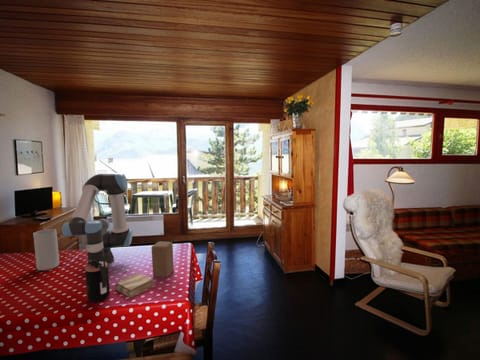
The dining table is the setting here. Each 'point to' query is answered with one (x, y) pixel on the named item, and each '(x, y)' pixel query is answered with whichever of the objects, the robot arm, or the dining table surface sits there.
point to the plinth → (134, 285)
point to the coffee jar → (95, 284)
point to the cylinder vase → (46, 249)
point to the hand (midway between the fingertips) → (98, 289)
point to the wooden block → (162, 259)
